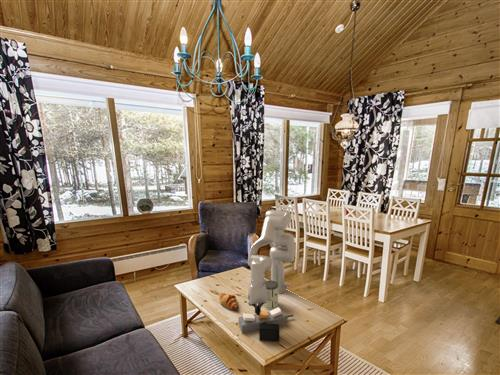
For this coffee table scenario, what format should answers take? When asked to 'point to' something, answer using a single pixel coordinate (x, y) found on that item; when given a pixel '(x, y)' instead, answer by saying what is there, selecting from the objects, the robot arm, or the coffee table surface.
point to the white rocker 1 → (248, 317)
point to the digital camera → (269, 332)
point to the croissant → (228, 300)
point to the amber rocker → (263, 315)
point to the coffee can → (271, 295)
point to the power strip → (254, 325)
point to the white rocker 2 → (275, 312)
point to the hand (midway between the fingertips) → (257, 313)
